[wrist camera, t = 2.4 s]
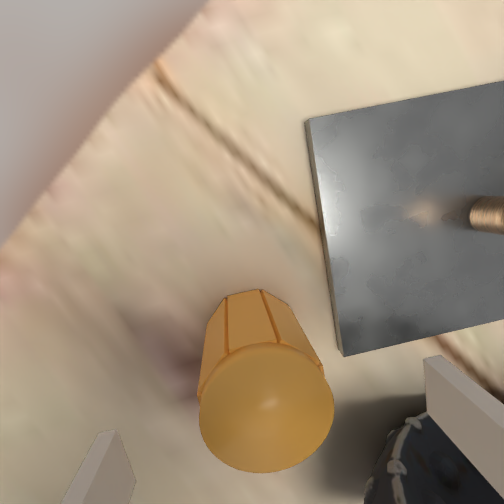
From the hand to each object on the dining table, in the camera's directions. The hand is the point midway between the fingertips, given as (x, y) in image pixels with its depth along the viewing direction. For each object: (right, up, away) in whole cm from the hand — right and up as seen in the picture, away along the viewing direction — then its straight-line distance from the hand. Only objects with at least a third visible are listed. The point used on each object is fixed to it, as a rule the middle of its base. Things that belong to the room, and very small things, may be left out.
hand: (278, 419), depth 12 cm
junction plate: (+14, +10, +8) cm, 19 cm away
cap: (-1, +1, +8) cm, 9 cm away
